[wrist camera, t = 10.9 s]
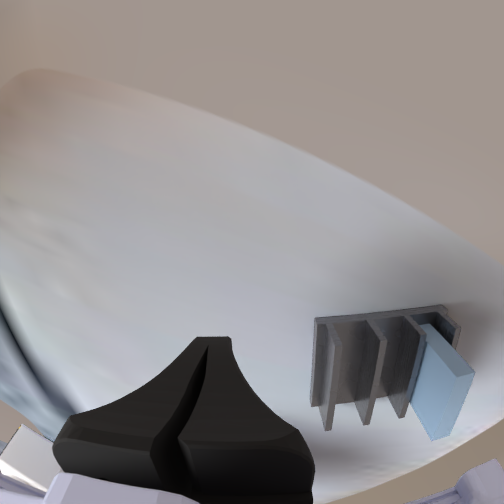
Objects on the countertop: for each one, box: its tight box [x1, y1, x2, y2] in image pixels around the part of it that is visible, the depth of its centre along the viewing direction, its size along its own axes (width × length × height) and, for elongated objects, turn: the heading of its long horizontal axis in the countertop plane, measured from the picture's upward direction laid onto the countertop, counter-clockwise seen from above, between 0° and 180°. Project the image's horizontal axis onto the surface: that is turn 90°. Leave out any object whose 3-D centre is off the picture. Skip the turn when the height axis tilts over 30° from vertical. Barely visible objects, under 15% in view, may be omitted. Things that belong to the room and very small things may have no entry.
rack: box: [310, 305, 461, 431], centre depth 22 cm, size 8×11×4 cm
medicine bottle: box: [0, 424, 64, 492], centre depth 23 cm, size 7×7×12 cm
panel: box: [409, 324, 475, 441], centre depth 20 cm, size 6×2×7 cm, turn 3°
